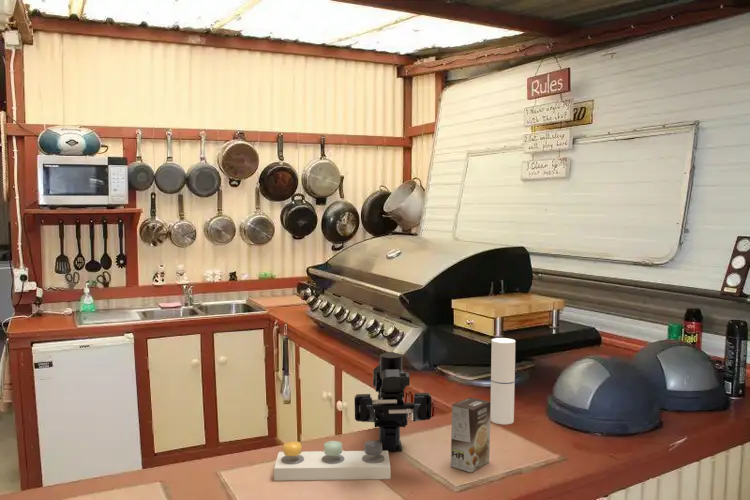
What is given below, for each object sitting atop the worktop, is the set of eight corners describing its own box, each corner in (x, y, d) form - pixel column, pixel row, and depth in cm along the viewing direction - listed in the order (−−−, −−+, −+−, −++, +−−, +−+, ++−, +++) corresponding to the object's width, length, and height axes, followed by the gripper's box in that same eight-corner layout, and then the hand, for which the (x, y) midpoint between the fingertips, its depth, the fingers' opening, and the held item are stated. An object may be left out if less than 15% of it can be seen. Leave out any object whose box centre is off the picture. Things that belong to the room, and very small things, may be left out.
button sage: (324, 450, 156) (324, 441, 156) (342, 450, 156) (342, 440, 156) (323, 457, 152) (323, 447, 151) (341, 457, 152) (341, 447, 152)
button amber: (284, 450, 156) (284, 441, 155) (302, 450, 156) (302, 441, 156) (282, 457, 151) (282, 448, 151) (300, 457, 151) (300, 448, 151)
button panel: (278, 463, 159) (278, 451, 158) (388, 461, 160) (388, 449, 159) (274, 480, 149) (273, 467, 148) (390, 479, 150) (390, 466, 150)
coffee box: (472, 473, 153) (473, 410, 152) (450, 466, 157) (450, 404, 156) (490, 461, 160) (491, 401, 159) (468, 455, 164) (469, 396, 163)
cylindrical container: (487, 422, 190) (488, 341, 188) (494, 415, 196) (495, 337, 194) (510, 425, 186) (511, 343, 184) (516, 418, 193) (518, 339, 191)
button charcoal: (364, 449, 156) (364, 440, 156) (381, 449, 157) (381, 440, 156) (364, 456, 152) (364, 447, 152) (382, 456, 152) (382, 447, 152)
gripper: (354, 366, 158) (353, 386, 142) (427, 365, 158) (434, 385, 143) (355, 409, 159) (354, 433, 143) (427, 407, 159) (434, 431, 144)
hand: (394, 419), depth 143 cm, fingers open, 9 cm apart
